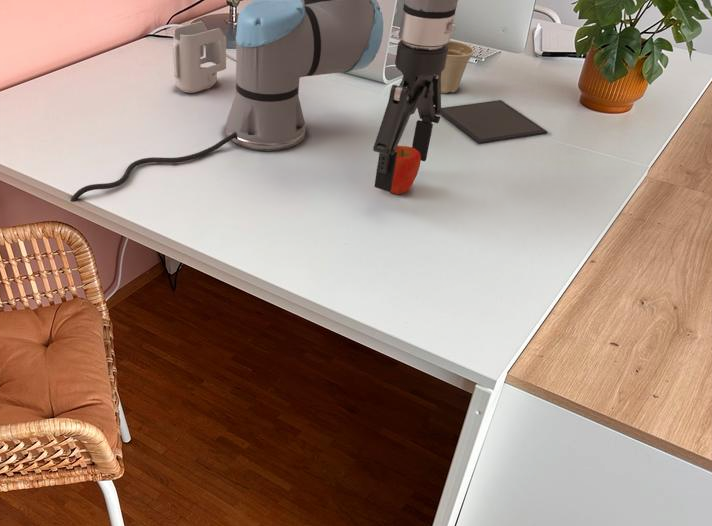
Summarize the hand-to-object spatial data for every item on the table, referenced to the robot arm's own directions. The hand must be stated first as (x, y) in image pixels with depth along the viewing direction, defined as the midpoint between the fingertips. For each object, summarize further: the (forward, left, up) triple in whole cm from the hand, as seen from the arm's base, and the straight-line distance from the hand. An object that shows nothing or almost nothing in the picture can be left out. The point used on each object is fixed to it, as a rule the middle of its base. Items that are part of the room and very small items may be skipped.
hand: (400, 173), depth 119 cm
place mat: (+32, +19, -3) cm, 38 cm away
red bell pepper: (0, 0, -4) cm, 4 cm away
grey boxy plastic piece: (-19, +53, -4) cm, 57 cm away
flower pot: (+32, +37, -4) cm, 49 cm away
